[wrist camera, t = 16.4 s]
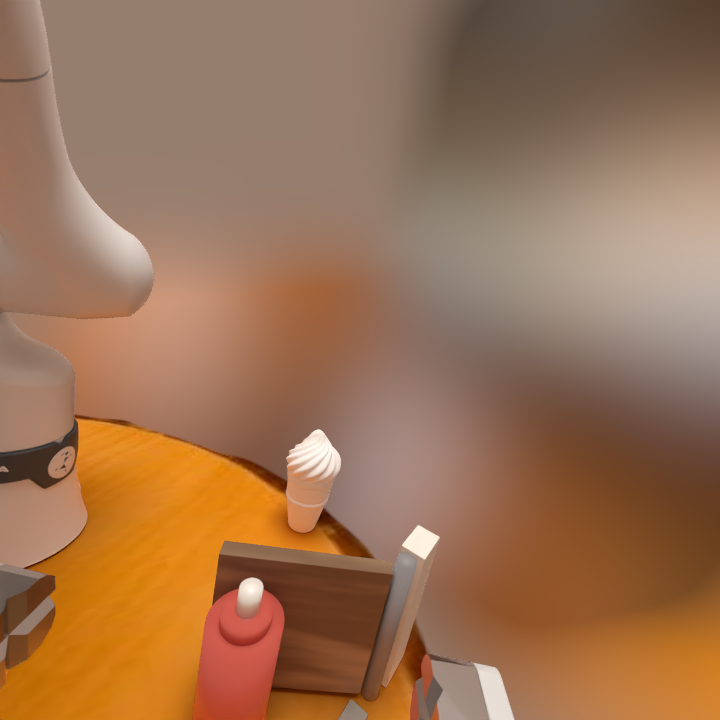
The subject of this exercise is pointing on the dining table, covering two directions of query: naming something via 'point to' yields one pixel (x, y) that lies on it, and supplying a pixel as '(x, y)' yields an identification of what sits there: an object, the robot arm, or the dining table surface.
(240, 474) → the dining table surface
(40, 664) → the dining table surface
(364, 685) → the white-tipped grey slat
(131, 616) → the dining table surface
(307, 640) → the door
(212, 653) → the ketchup bottle
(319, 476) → the soft serve ice cream cone
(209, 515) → the dining table surface
